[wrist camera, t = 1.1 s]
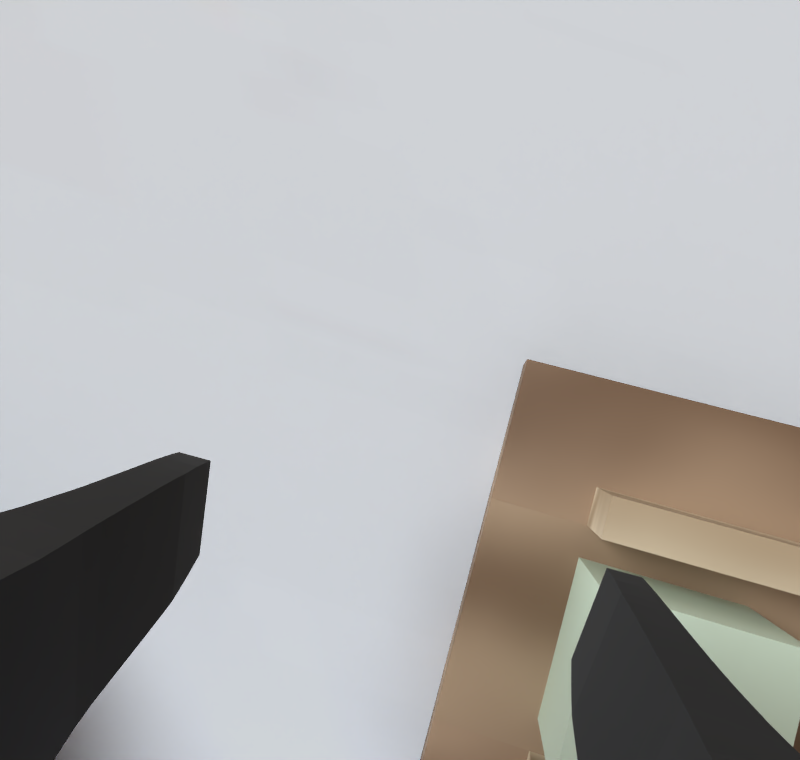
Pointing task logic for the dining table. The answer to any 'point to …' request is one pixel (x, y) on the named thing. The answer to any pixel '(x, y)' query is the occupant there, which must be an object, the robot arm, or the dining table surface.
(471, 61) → the dining table surface
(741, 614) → the block
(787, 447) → the deck
